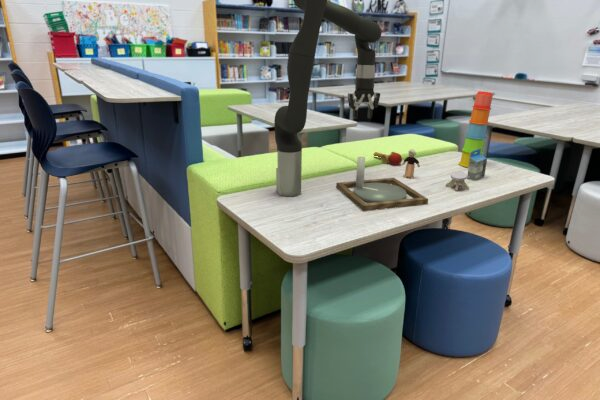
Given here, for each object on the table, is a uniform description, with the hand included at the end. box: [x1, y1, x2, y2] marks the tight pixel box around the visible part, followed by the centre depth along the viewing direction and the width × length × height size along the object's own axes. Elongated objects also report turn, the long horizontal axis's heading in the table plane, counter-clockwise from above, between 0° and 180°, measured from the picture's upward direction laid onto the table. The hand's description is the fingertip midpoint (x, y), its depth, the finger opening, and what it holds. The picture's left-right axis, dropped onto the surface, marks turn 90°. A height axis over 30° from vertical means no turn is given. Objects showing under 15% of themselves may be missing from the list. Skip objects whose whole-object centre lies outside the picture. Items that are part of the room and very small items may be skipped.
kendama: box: [373, 151, 403, 166], centre depth 209 cm, size 8×6×18 cm
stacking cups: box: [458, 90, 494, 168], centre depth 199 cm, size 10×10×35 cm
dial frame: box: [335, 177, 429, 212], centre depth 165 cm, size 26×26×2 cm
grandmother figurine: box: [401, 148, 421, 179], centre depth 185 cm, size 8×4×13 cm, turn 68°
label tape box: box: [466, 149, 488, 181], centre depth 185 cm, size 9×4×12 cm, turn 131°
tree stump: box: [445, 170, 470, 192], centre depth 174 cm, size 10×9×6 cm
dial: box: [353, 156, 408, 203], centre depth 163 cm, size 20×20×14 cm
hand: (362, 118), depth 178 cm, fingers open, 5 cm apart
